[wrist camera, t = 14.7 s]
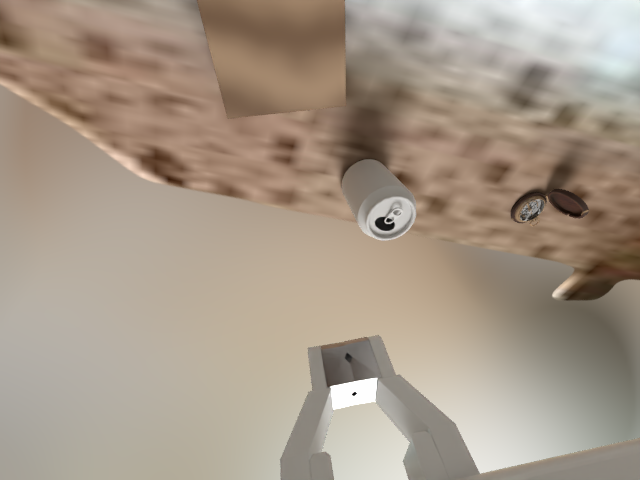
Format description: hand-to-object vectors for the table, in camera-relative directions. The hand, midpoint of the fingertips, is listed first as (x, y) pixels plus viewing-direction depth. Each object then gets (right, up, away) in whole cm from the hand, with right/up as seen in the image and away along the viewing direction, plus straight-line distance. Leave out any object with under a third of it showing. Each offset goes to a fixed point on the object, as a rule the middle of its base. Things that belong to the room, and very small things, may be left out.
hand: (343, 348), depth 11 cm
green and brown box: (-6, +27, +18) cm, 33 cm away
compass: (+39, +11, +38) cm, 56 cm away
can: (+6, +14, +30) cm, 34 cm away
